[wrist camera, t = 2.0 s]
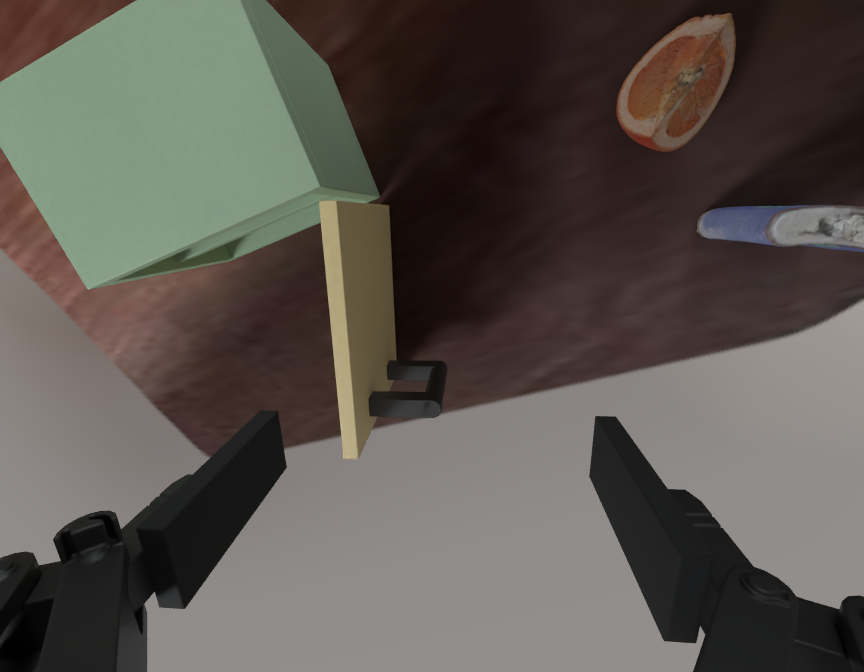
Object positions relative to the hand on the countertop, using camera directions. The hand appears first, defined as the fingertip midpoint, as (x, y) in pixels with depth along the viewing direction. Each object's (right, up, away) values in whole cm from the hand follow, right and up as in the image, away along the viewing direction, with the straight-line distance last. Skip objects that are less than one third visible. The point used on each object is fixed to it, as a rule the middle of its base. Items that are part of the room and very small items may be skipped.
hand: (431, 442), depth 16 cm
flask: (+27, +14, +17) cm, 35 cm away
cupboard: (-14, +19, +19) cm, 30 cm away
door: (-2, +8, +21) cm, 23 cm away
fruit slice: (+18, +23, +15) cm, 33 cm away
